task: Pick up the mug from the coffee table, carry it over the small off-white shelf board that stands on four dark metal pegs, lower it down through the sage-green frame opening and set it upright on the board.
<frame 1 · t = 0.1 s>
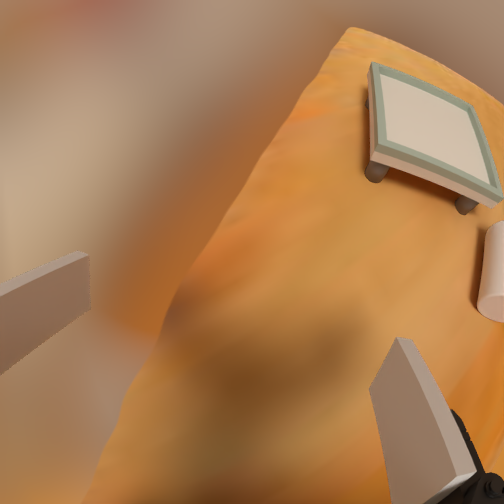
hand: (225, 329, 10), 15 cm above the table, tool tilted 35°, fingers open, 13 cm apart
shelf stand: (417, 152, 33), on the table
mug: (496, 287, 26), on the table
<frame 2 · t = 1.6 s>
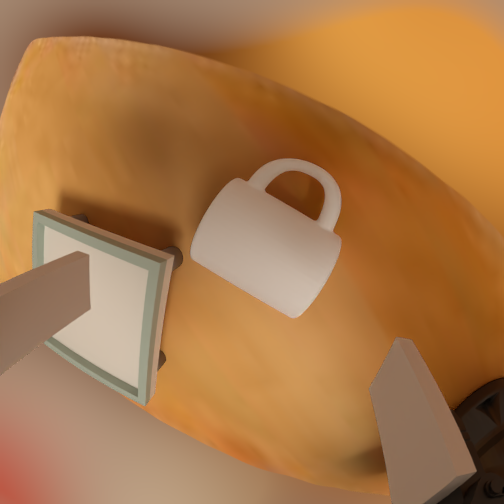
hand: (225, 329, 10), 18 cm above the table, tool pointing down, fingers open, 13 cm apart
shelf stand: (116, 291, 32), on the table
mug: (281, 221, 27), on the table
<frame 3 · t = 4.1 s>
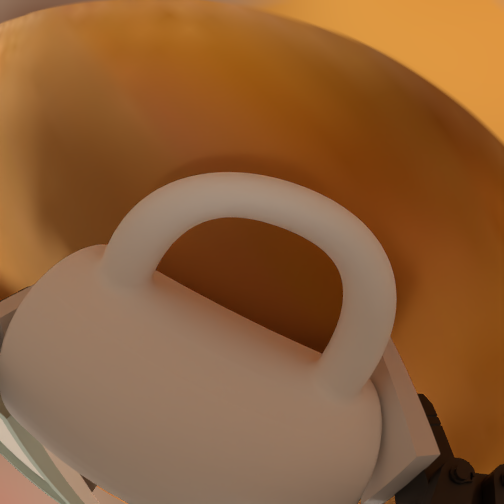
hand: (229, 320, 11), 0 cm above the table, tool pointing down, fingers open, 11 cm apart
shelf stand: (29, 382, 17), on the table
mug: (234, 316, 12), on the table, touching gripper
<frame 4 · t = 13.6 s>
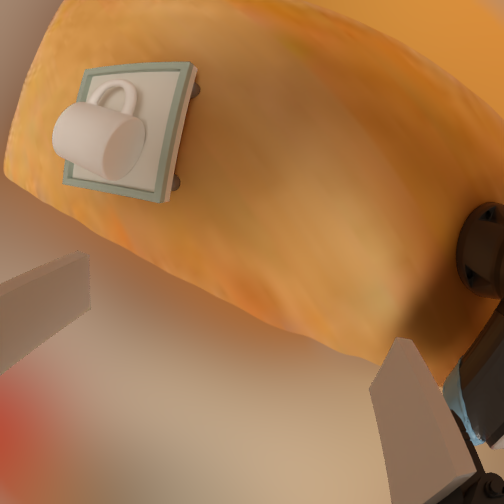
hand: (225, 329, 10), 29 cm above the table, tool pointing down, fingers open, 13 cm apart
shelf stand: (141, 131, 38), on the table
mug: (121, 127, 32), point 6 cm above the table, touching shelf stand
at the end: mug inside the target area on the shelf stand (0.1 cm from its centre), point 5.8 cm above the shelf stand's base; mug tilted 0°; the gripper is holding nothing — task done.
